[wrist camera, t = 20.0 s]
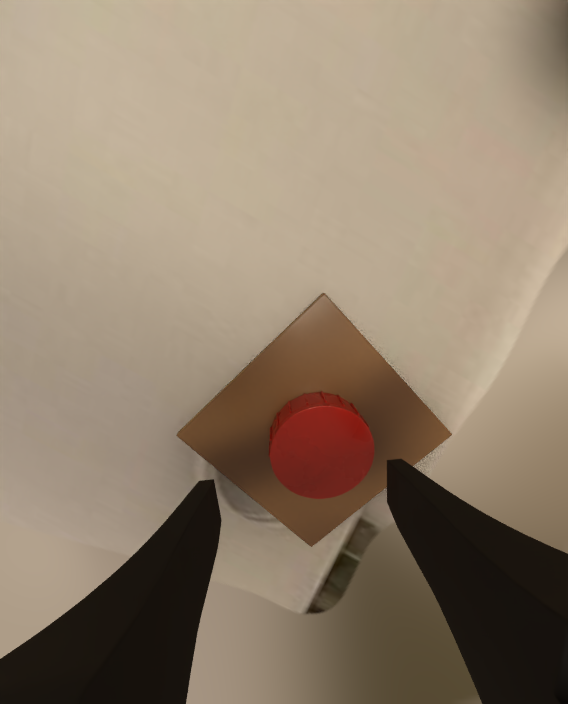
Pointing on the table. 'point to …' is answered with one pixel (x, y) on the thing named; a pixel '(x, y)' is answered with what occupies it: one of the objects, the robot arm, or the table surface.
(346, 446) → the lid
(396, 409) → the coaster
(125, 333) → the table surface
